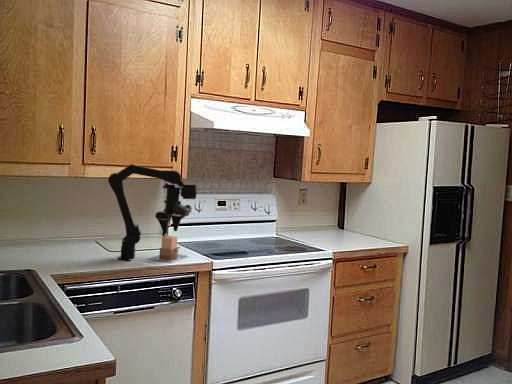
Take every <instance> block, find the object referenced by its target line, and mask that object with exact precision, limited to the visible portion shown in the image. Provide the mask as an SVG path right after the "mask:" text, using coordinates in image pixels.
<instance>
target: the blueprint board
mask: <svg viewBox="0 0 512 384" xmlns="http://www.w3.org/2000/svg"><path fill="white" fill-rule="evenodd" d="M159 255H160V254H157V255H155V256H152V257H150V258H147V259H146V260H149V261H154V262H159V263H165V264H173V263H176V262H179V261H181V260H183V259H185V258H189V257H190V255H186V254H185V255H184V254H180V253H178V258H177V259H175V260H172V261H168V260H162V259H159Z"/></svg>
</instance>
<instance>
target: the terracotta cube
mask: <svg viewBox="0 0 512 384" xmlns="http://www.w3.org/2000/svg"><path fill="white" fill-rule="evenodd" d="M160 248H164V249H170V250H172V249H175V248H178V236H173V235H166V236H162V237H161V247H160Z"/></svg>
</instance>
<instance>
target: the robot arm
mask: <svg viewBox="0 0 512 384" xmlns="http://www.w3.org/2000/svg"><path fill="white" fill-rule="evenodd" d="M131 175H140V176H145V177H150V178H153V179H155V178H156V179H159V180H162V181H164V182H165V184H164V185H162V188H163V189H166V193H165V194H166V195H165V197H166V198H165V200H163V203H165V209H163V211H162V210H161V211H157V212H156V213H155V217H154V218H155V219H156V220H157V221H158V223H159V225H160V227H161V229H162V232H163V234H164V235H167V234H168V229H169V224H170V222H172V226H173V230H174V232H177V231H178V229H179V226H180V223H181V220H183V219H185V218H186V217H189V215H190V214H191V212H192V206H191V205H190V204H186V205H183V204H182V201H181V200H180V197H182V200H183V199H184V200H196V198H197V186H196V184H195V183H193V184H187V183H186V184H185V183H184V182H183V181H182V180H181V179H182V177H181V176H182V175H181V174H180V172H178V171H177V170H176V169H175V170H173V169H164V170H163V169H156V168H151V167H146V166H142V165H141V166H140V165H136V164H133V163H130V164H128V166H126V167H125V168H123V169H121V170H120V171H119V172H113V173H111V174H110V175H109V177H108V179H107V180H108V181H107V182H108V183H109V186H110V187H111V190H112V191H113V193H114V194H115V197H116V200H117V204H118V207H119V208H120V213H121V215H122V219H123V221H124V226H125V233H126V235H125V236H124V237H123V238H121V246H120V257H118V258H117V260H118V261H124V262H132V261H134V260H133V259H135V256H136V245H137V243H139V242H140V240H141V235H142V231H141V230H140V227H139V223H137V224H135V221H134V220H133V217H132V213H131V211H130V207H129V204H128V200H127V197H126V194H125V189H124V183H123V182H124V180H126V179H127V178H129V177H130V176H131ZM168 183H169V184H168ZM176 185H177V186H178V187H177V186H176Z"/></svg>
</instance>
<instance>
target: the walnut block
mask: <svg viewBox="0 0 512 384" xmlns="http://www.w3.org/2000/svg"><path fill="white" fill-rule="evenodd" d="M178 254H179V247H177V248H175V249H172V250H170V249H164V248H161V247H160V248H159V254H158V255H159V259H162V260H168V261H172V260H175V259H177V258H178Z"/></svg>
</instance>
